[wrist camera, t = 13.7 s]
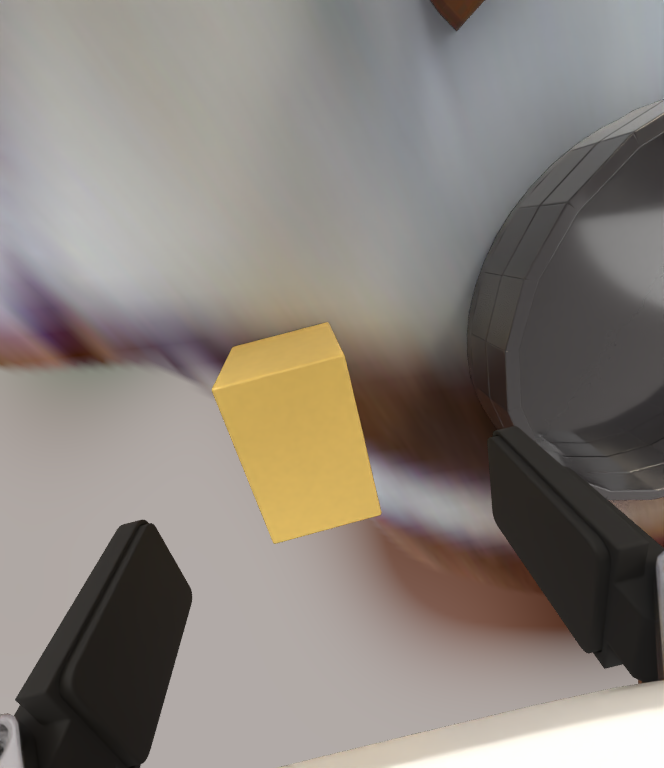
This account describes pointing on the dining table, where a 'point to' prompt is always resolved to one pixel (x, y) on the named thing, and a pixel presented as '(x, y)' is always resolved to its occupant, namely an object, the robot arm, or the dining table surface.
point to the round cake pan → (582, 311)
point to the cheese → (298, 432)
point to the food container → (456, 10)
